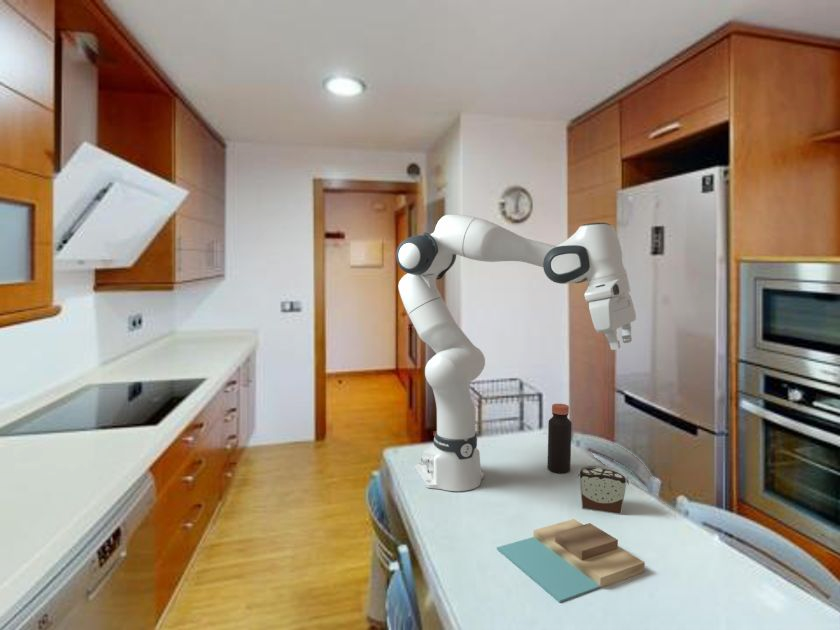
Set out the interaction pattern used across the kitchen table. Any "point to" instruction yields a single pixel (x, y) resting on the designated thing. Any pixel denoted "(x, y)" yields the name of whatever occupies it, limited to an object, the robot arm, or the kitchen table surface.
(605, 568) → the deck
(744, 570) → the kitchen table surface
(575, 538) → the tile
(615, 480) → the cake slice
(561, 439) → the bottle
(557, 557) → the mat
